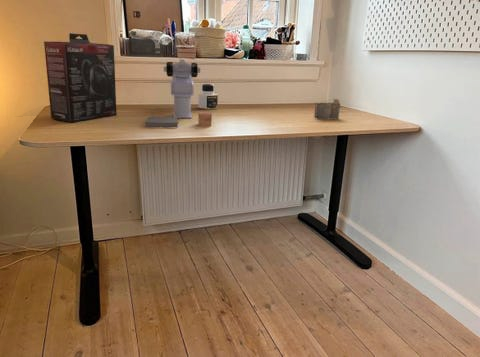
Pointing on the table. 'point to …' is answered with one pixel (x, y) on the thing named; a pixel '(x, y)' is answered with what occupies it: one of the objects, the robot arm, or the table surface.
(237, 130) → the table surface
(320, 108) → the ruin model on sheet
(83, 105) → the headset box
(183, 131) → the table surface
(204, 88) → the medicine bottle
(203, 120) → the cube
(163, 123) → the base block
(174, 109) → the robot arm
